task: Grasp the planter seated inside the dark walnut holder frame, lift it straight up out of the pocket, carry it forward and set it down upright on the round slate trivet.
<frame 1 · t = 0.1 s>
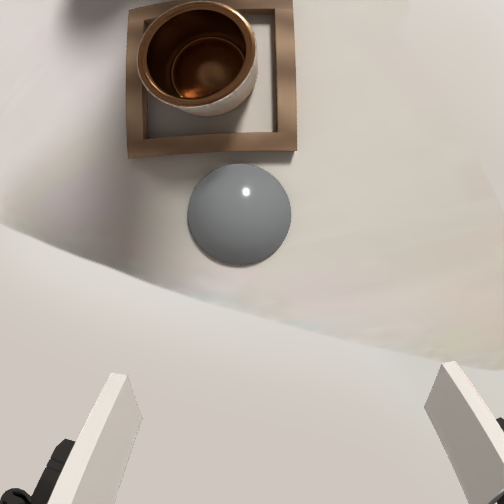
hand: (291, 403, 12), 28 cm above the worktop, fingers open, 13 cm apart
slate trivet: (239, 214, 38), on the worktop
holder frame: (209, 72, 32), on the worktop
planter: (209, 72, 32), resting in holder frame
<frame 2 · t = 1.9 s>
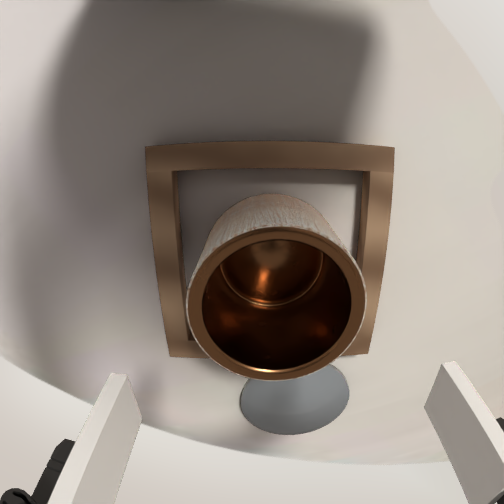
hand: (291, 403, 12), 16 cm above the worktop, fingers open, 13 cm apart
slate trivet: (295, 398, 33), on the worktop
holder frame: (271, 256, 27), on the worktop
planter: (270, 254, 27), resting in holder frame
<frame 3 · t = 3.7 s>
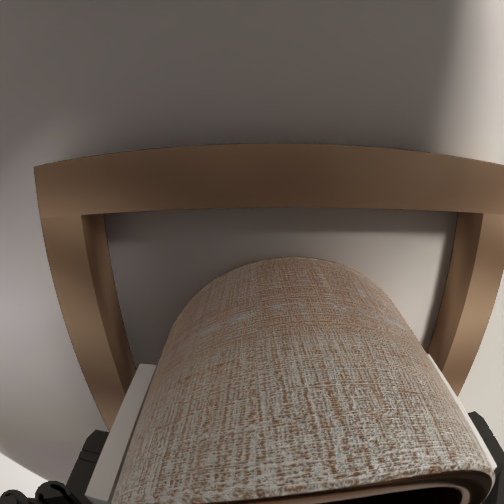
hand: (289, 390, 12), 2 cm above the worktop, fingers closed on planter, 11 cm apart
holder frame: (286, 360, 14), on the worktop
planter: (286, 357, 14), resting in holder frame, touching gripper
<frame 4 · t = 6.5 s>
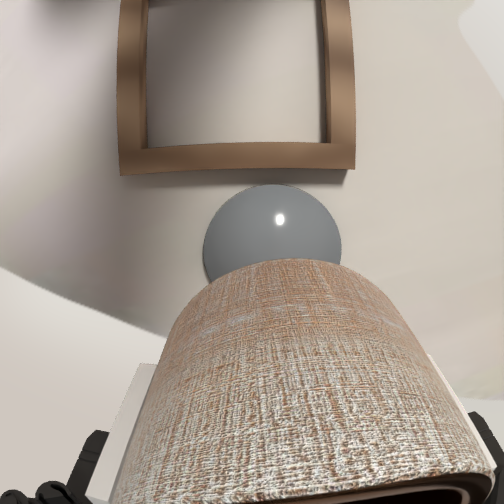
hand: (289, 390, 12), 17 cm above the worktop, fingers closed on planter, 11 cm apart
slate trivet: (272, 251, 28), on the worktop
holder frame: (233, 56, 23), on the worktop
planter: (286, 358, 14), point 15 cm above the worktop, touching gripper
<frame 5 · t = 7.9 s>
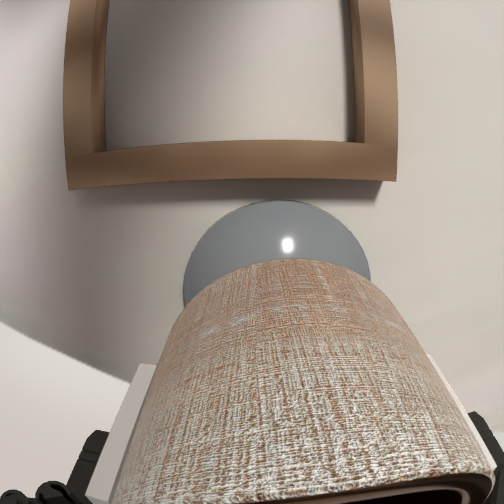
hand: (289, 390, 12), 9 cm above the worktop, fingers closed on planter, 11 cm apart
slate trivet: (278, 291, 21), on the worktop
holder frame: (223, 21, 15), on the worktop
planter: (286, 359, 14), point 7 cm above the worktop, touching gripper
when the fingers open (4 cm above the worktop, at t = 9.3 s): planter drops 2 cm, resting on slate trivet.
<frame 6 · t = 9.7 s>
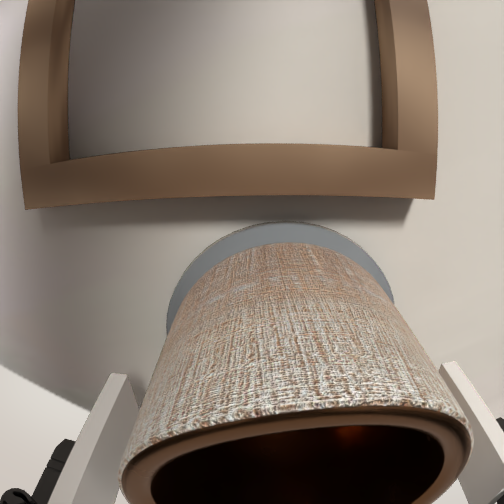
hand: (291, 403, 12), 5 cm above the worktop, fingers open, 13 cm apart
slate trivet: (282, 332, 17), on the worktop
planter: (283, 338, 16), point 1 cm above the worktop, touching slate trivet
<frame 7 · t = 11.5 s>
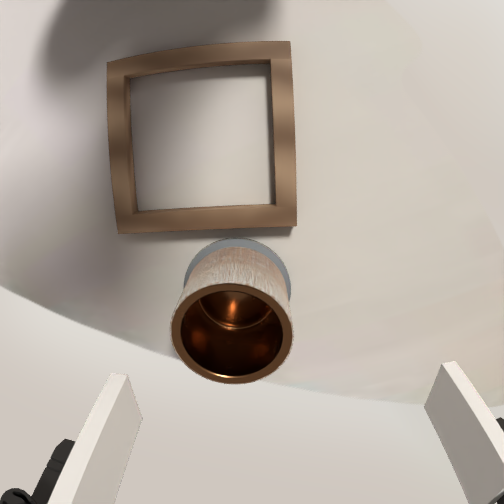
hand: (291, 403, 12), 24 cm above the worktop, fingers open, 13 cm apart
slate trivet: (237, 288, 36), on the worktop
holder frame: (199, 136, 31), on the worktop
planter: (237, 290, 36), point 1 cm above the worktop, touching slate trivet
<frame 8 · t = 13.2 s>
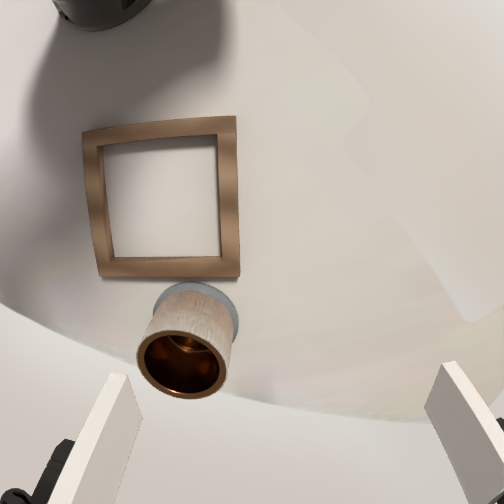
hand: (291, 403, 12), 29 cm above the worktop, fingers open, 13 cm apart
slate trivet: (195, 320, 44), on the worktop
holder frame: (160, 199, 38), on the worktop
planter: (194, 322, 43), point 1 cm above the worktop, touching slate trivet
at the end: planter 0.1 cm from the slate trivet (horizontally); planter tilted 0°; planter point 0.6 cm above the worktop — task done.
